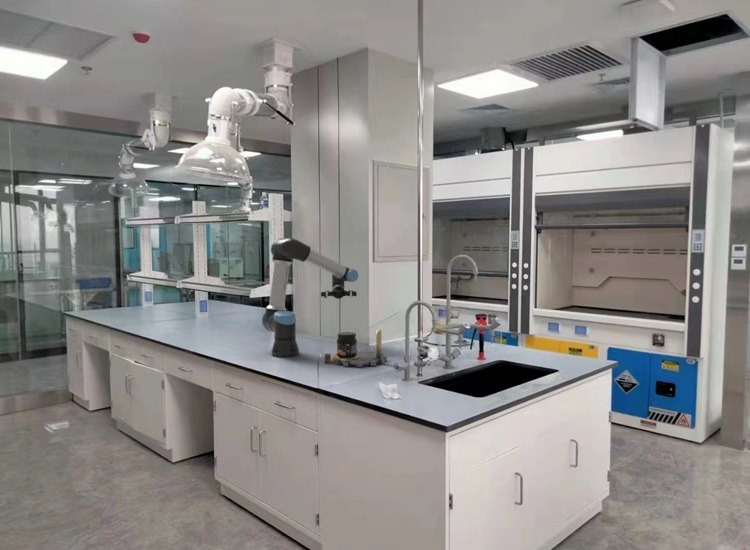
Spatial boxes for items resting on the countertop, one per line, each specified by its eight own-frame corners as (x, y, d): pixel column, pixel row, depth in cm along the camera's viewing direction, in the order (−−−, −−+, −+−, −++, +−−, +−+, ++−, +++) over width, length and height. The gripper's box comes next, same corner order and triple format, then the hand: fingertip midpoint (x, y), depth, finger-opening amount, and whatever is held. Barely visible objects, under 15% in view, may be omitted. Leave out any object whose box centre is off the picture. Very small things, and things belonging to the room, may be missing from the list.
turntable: (321, 361, 266) (321, 330, 265) (356, 352, 288) (356, 323, 287) (363, 369, 249) (362, 336, 248) (397, 359, 271) (396, 328, 270)
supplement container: (332, 356, 269) (332, 333, 268) (348, 353, 276) (348, 331, 275) (345, 359, 261) (344, 336, 260) (361, 356, 268) (361, 333, 267)
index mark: (324, 363, 265) (324, 355, 265) (324, 361, 269) (324, 353, 269) (330, 363, 266) (330, 355, 265) (330, 361, 270) (330, 353, 269)
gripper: (359, 297, 312) (361, 301, 291) (317, 298, 310) (316, 302, 289) (359, 285, 311) (361, 288, 290) (317, 286, 309) (316, 289, 288)
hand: (339, 295), depth 289 cm, fingers open, 13 cm apart
